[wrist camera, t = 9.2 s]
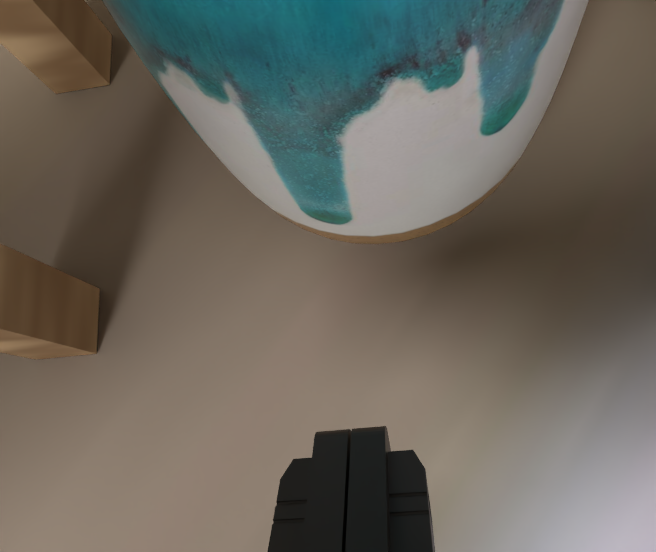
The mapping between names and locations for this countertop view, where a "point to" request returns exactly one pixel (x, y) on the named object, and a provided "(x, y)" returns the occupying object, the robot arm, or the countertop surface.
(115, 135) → the countertop surface
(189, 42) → the vase
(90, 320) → the riser shelf
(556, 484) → the countertop surface
